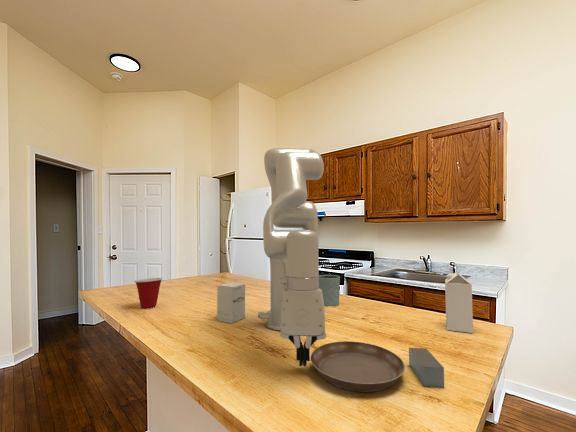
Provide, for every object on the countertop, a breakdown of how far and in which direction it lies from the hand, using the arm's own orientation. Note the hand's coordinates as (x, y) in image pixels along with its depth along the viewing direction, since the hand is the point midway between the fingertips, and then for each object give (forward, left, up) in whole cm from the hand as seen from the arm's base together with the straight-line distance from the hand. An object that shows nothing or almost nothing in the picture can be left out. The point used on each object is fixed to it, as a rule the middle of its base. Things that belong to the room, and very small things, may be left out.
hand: (303, 363), depth 69 cm
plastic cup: (-68, +51, -2) cm, 85 cm away
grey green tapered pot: (+8, +62, -2) cm, 63 cm away
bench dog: (+27, 0, -2) cm, 27 cm away
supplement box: (-28, +37, -2) cm, 46 cm away
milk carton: (+49, +33, -2) cm, 59 cm away
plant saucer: (+12, 0, -2) cm, 12 cm away
